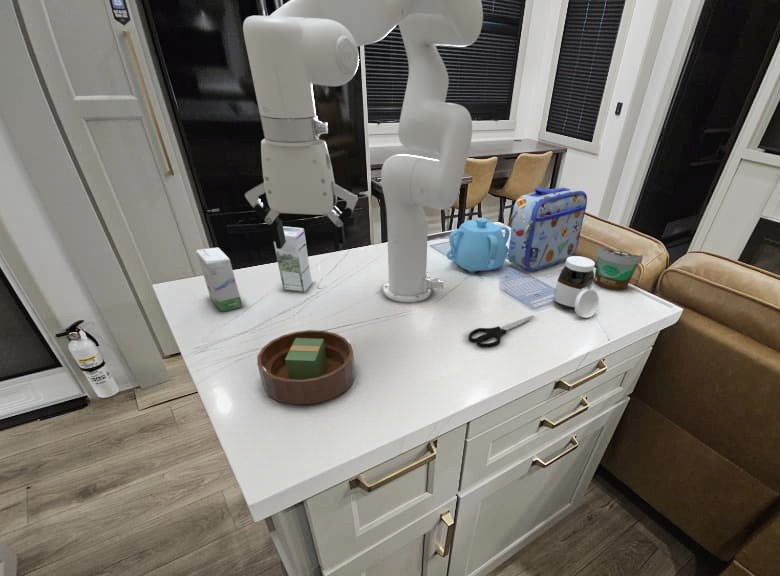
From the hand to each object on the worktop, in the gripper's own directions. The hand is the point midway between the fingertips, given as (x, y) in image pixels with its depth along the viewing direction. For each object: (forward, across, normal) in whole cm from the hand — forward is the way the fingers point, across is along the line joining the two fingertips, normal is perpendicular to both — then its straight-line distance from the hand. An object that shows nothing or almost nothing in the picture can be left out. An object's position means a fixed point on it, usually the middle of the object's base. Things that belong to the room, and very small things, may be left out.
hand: (310, 246), depth 71 cm
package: (+21, +2, +9) cm, 23 cm away
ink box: (+22, +27, -19) cm, 40 cm away
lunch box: (+24, -55, -53) cm, 81 cm away
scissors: (+23, -38, -11) cm, 45 cm away
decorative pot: (+24, -35, -49) cm, 64 cm away
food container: (+24, -72, -37) cm, 85 cm away
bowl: (+22, +1, +9) cm, 23 cm away
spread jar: (+23, -58, -23) cm, 67 cm away
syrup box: (+23, +13, -29) cm, 39 cm away
